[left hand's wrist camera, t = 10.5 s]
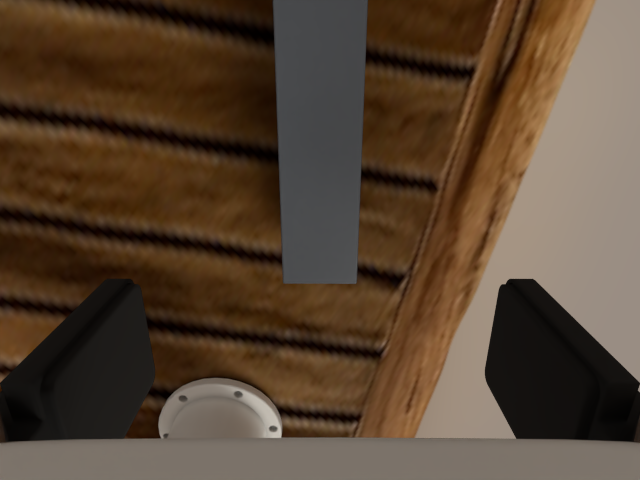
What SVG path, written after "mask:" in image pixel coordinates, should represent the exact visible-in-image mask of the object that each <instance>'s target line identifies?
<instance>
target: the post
mask: <svg viewBox="0 0 640 480" xmlns="http://www.w3.org/2000/svg"><path fill="white" fill-rule="evenodd" d="M367 7H368V0H273V21H274V48H275V76H276V103H277V130H278V158H279V185H280V213H281V240H282V267H283V283H330V284H356V283H357V261H358V236H359V210H360V185H361V160H362V134H363V109H364V84H365V58H366V33H367Z"/></svg>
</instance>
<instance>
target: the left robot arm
mask: <svg viewBox="0 0 640 480" xmlns="http://www.w3.org/2000/svg"><path fill="white" fill-rule="evenodd" d="M154 378H155V366H154V361H153V355H152V349H151V344H150V338H149V332H148V326H147V321H146V315H145V309H144V304H143V298H142V292H141V288H140V286H139V285H138V284H134V283H133V281H132V280H131V279H106V280H105V281H104V282H103V283H102V284H101V285H100V286H99V287H98V288H97V289H96V290H95V291H94V292H93V293H92V294H91V295H90V296H88V297H87V298H86V299H85V300H84V301H83V302H82V303H81V304H80V305H79V306H78V307H77V308H76V309H75V310H74V311H73V312H72V313H71V314H70V315H69V316H68V317H67V318H66V319H65V320H64V321H63V322H62V323H61V324H60V325H59V326H58V327H57V328H56V329H55V330H54V331H53V332H52V333H51V334H50V335H49V336H48V337H47V338H46V339H45V340H44V341H43V342H41V343H40V344H39V345H38V346H37V347H36V348H35V349H34V350H33V351H32V352H31V353H30V354H29V355H28V356H27V357H26V358H25V359H24V360H23V361H22V362H21V363H20V364H19V365H18V366H17V367H16V368H15V369H14V370H13V371H12V372H11V373H10V374H9V375H8V376H7V377H6V378H5V379H4V380H3V381H2V382H1V383H0V385H1V388H2V391H1V392H0V480H640V392H639V391H638V388H639V385H640V383H639V382H638V381H637V380H636V379H635V378H634V377H633V376H632V375H631V374H630V373H629V372H628V371H627V370H626V369H625V368H624V367H623V366H622V365H621V364H620V363H619V362H618V361H617V360H616V359H615V358H614V357H613V356H612V355H611V354H610V353H609V352H608V351H607V350H606V349H605V348H604V347H603V346H602V345H601V344H599V342H597V341H596V340H595V339H594V338H593V337H592V336H591V335H590V334H589V333H588V332H587V331H586V330H585V329H584V328H583V327H582V326H581V325H580V324H579V323H578V322H577V321H576V320H575V319H574V318H573V317H572V316H571V315H570V314H569V313H568V312H567V311H566V310H565V309H564V308H563V307H562V306H561V305H560V304H559V303H558V302H557V301H556V300H555V299H554V298H552V297H551V296H550V295H549V294H548V293H547V292H546V291H545V290H544V289H543V288H542V287H541V286H540V285H539V284H538V283H537V282H536V281H535V280H534V279H509V280H508V281H507V283H506V284H502V285H501V286H500V288H499V292H498V298H497V304H496V309H495V315H494V321H493V327H492V332H491V338H490V344H489V349H488V355H487V361H486V367H485V378H486V382H487V384H488V386H489V388H490V390H491V392H492V394H493V396H494V397H495V399H496V401H497V403H498V405H499V407H500V409H501V411H502V412H503V414H504V416H505V418H506V420H507V422H508V424H509V426H510V428H511V429H512V431H513V433H514V435H515V437H516V439H463V438H281V435H282V422H281V418H280V414H279V412H278V410H277V408H276V406H275V405H274V404H273V403H272V402H271V400H270V399H269V398H268V397H267V396H265V395H264V394H263V393H262V392H261V391H259V390H257V389H256V388H254V387H252V386H250V385H248V384H245V383H243V382H240V381H236V380H231V379H225V378H207V379H201V380H197V381H192V382H190V383H188V384H186V385H183V386H182V387H180V388H179V389H177V390H176V391H175V392H174V393H173V394H172V395H171V396H170V397H169V398H168V399H167V401H166V403H165V405H164V407H163V409H162V411H161V414H160V416H159V424H158V426H159V433H160V436H161V439H124V437H125V435H126V433H127V431H128V429H129V428H130V426H131V424H132V422H133V420H134V418H135V416H136V414H137V413H138V411H139V409H140V407H141V405H142V403H143V401H144V399H145V397H146V396H147V394H148V392H149V390H150V388H151V386H152V384H153V382H154Z"/></svg>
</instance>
